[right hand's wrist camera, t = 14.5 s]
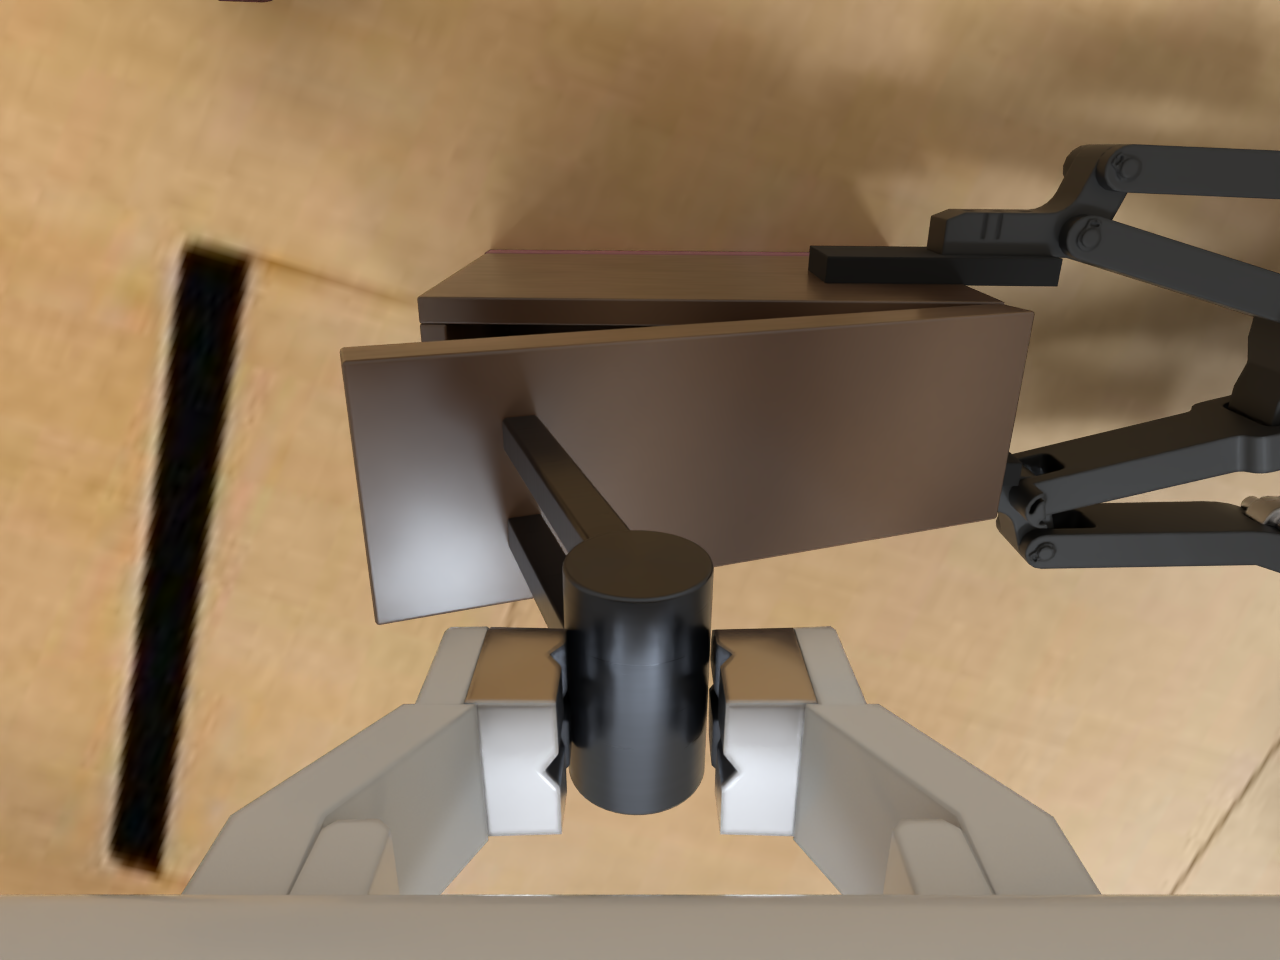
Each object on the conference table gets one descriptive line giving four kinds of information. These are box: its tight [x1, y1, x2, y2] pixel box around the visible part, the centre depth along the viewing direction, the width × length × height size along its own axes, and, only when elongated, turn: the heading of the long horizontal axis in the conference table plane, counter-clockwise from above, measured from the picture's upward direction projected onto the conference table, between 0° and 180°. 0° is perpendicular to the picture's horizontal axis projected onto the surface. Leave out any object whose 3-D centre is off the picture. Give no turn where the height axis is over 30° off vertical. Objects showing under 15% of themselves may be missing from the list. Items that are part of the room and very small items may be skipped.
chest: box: [417, 250, 1005, 342], centre depth 26 cm, size 15×5×10 cm, turn 90°
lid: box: [340, 303, 1034, 815], centre depth 15 cm, size 15×5×9 cm, turn 88°
